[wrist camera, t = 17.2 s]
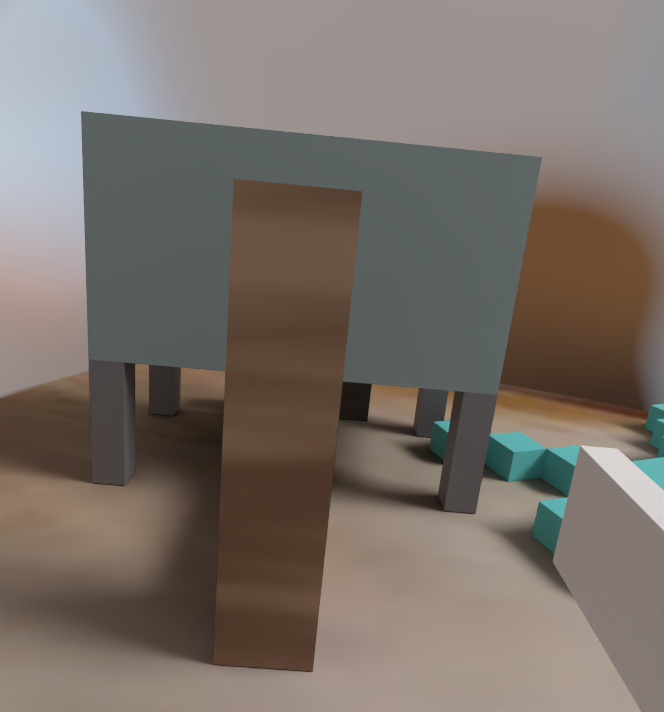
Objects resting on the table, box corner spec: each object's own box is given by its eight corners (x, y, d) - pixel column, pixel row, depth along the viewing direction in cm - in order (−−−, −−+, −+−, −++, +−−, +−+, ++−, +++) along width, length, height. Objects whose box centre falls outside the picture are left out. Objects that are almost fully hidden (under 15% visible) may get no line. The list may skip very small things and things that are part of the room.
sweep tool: (410, 678, 17) (489, 203, 13) (112, 657, 17) (102, 165, 13) (365, 412, 38) (391, 197, 34) (231, 400, 37) (242, 182, 33)
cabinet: (436, 428, 36) (477, 168, 32) (475, 513, 26) (541, 157, 22) (156, 404, 36) (157, 136, 31) (92, 482, 26) (81, 111, 21)
